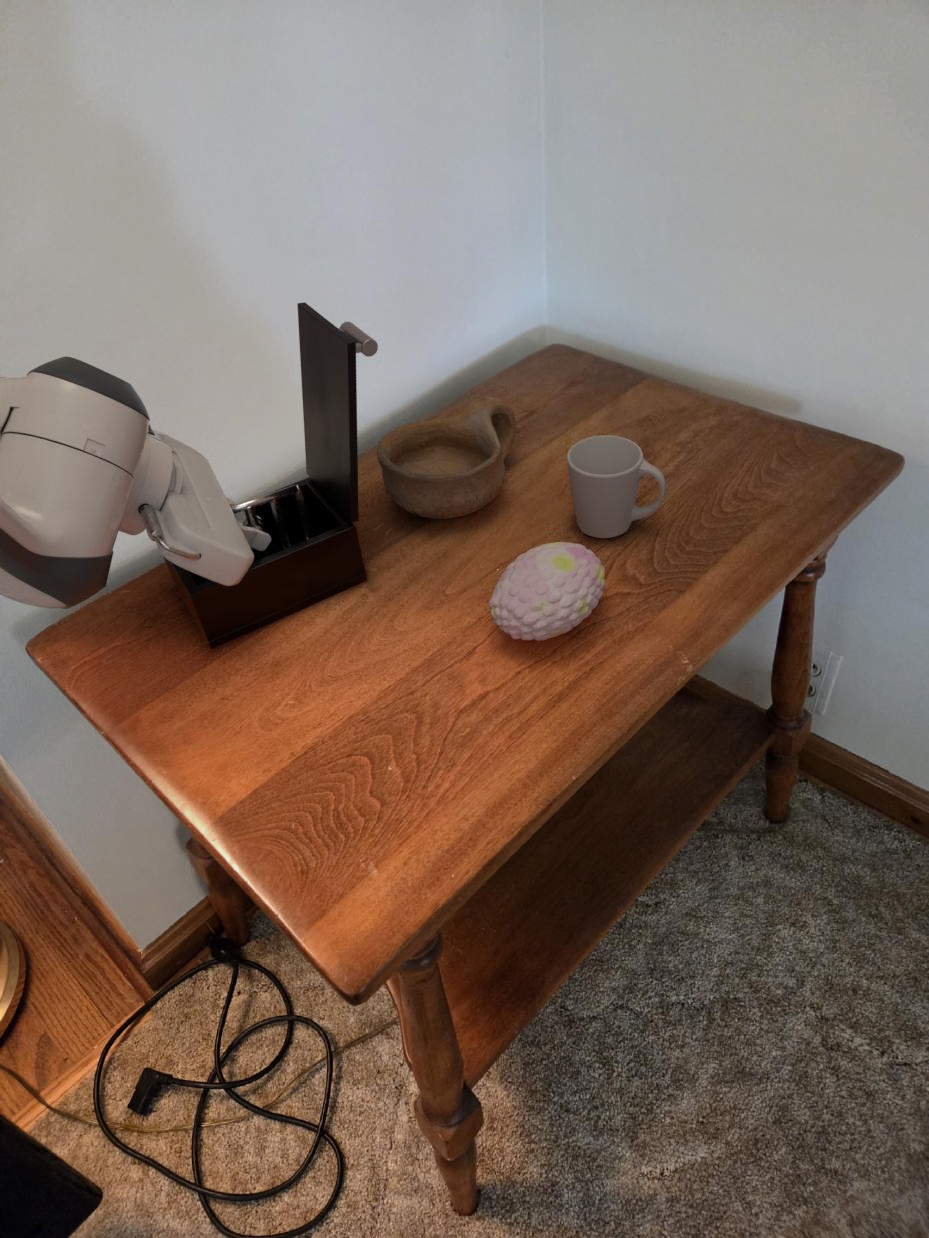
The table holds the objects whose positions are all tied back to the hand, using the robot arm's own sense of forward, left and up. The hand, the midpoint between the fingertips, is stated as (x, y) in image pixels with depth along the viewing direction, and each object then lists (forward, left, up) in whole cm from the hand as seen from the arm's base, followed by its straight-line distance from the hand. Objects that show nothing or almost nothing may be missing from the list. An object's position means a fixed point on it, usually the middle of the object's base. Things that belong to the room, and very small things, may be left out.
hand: (263, 534), depth 90 cm
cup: (+33, -13, -7) cm, 36 cm away
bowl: (+23, +3, -7) cm, 24 cm away
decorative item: (+19, -21, -7) cm, 30 cm away
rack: (-1, 0, -5) cm, 5 cm away
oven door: (+9, 0, +10) cm, 13 cm away
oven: (-1, 0, -6) cm, 6 cm away
